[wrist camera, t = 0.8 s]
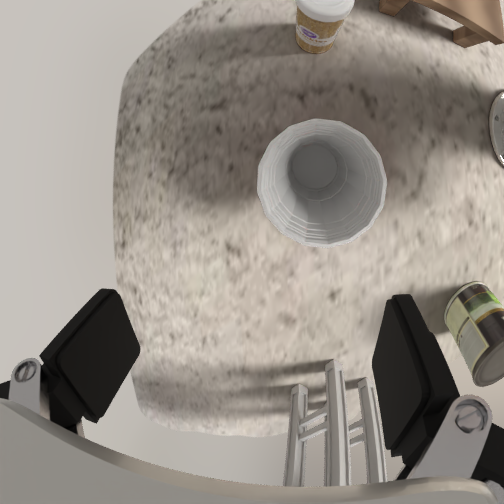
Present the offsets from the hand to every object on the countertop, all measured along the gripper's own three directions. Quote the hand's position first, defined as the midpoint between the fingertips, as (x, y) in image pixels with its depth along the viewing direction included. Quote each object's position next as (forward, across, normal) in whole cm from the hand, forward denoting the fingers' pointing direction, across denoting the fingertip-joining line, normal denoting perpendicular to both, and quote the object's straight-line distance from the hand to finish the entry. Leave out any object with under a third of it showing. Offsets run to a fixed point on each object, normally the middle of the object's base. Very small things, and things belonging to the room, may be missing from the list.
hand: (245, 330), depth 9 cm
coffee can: (+27, -32, +21) cm, 47 cm away
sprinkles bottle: (+27, -5, -17) cm, 33 cm away
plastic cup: (+27, -4, -1) cm, 28 cm away
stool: (+27, -9, +38) cm, 48 cm away
